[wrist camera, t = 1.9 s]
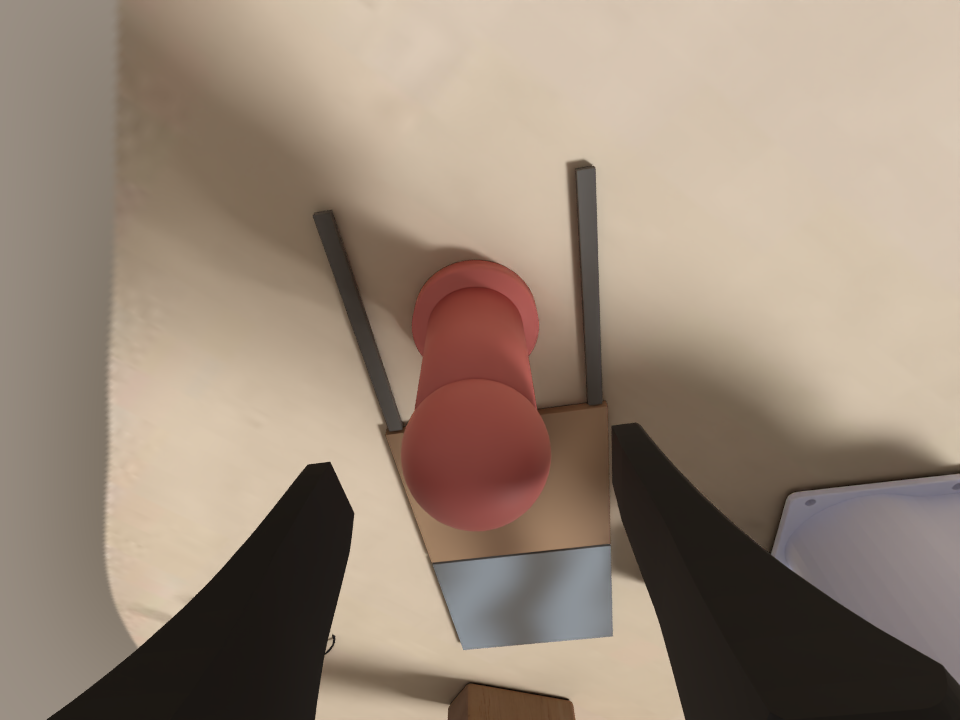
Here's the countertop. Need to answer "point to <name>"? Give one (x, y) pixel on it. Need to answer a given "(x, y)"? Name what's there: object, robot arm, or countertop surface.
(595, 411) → the board
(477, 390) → the pawn
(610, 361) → the countertop surface
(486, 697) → the wooden block
